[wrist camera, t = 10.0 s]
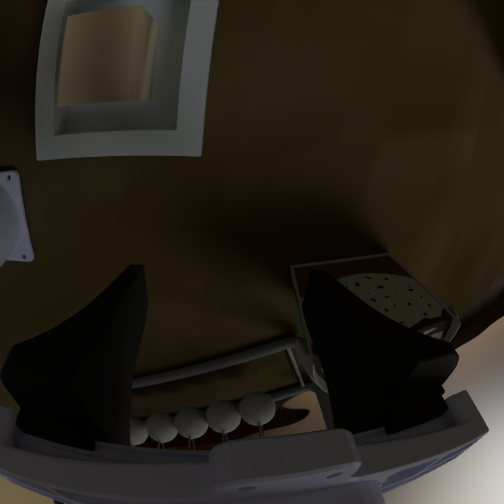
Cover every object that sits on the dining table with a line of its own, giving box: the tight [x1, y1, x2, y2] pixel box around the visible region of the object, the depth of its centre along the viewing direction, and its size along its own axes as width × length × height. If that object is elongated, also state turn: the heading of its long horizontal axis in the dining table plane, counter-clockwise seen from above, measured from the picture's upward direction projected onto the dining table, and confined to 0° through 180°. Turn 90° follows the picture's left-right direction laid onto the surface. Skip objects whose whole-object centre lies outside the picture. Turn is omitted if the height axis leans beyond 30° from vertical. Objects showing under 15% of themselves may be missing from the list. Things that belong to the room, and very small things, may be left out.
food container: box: [290, 253, 461, 393], centre depth 22 cm, size 12×6×10 cm, turn 93°
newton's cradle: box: [53, 336, 334, 504], centre depth 24 cm, size 30×10×18 cm, turn 108°
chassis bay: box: [35, 0, 219, 161], centre depth 13 cm, size 11×12×2 cm
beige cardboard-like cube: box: [58, 5, 160, 107], centre depth 12 cm, size 4×5×5 cm
